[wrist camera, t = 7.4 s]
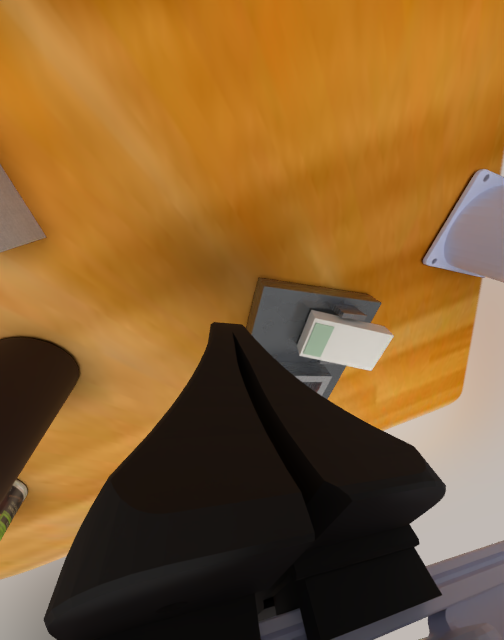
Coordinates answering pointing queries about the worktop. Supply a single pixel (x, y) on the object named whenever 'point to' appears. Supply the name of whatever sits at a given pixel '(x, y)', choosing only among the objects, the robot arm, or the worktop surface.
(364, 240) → the worktop surface
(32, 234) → the grey milk carton
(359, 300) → the panel
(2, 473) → the vinegar
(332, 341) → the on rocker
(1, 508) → the coffee can
